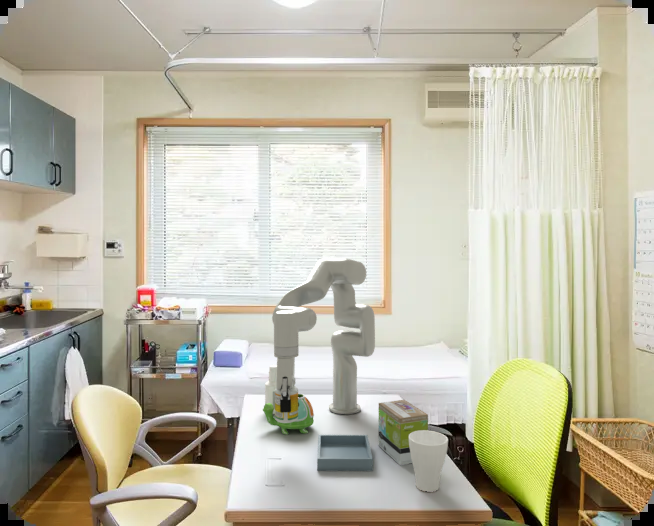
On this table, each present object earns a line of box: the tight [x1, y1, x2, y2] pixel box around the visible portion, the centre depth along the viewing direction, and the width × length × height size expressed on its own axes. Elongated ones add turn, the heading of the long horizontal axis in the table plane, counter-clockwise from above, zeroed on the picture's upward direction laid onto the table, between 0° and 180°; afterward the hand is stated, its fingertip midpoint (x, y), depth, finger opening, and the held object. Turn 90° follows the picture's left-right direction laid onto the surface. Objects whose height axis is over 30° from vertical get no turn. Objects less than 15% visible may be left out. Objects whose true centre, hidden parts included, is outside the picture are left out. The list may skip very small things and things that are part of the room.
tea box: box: [378, 399, 429, 466], centre depth 152 cm, size 15×10×15 cm
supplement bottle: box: [274, 377, 299, 423], centre depth 150 cm, size 7×7×13 cm
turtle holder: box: [262, 393, 315, 435], centre depth 172 cm, size 12×18×12 cm
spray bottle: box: [264, 364, 277, 415], centre depth 190 cm, size 7×7×18 cm
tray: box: [316, 434, 374, 472], centre depth 149 cm, size 18×16×4 cm
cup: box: [409, 429, 449, 493], centre depth 131 cm, size 10×10×14 cm
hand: (286, 407), depth 150 cm, fingers closed on supplement bottle, 7 cm apart
